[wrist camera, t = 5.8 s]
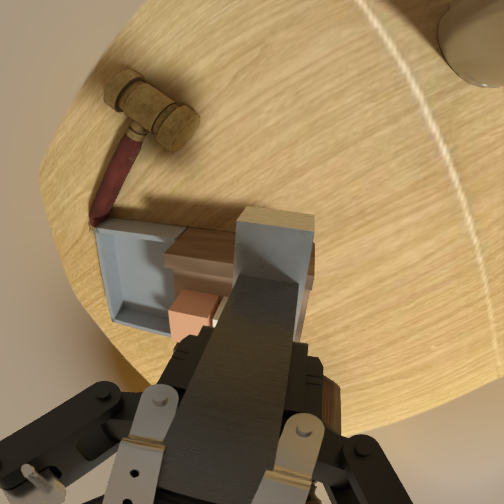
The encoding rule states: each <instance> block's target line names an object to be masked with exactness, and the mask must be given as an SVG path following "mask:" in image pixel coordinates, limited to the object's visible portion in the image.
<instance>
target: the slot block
mask: <svg viewBox="0 0 504 504" xmlns="http://www.w3.org/2000/svg"><path fill="white" fill-rule="evenodd" d="M234 250H235V233H232V232H224V231H216V230H209V229H201V228H193V227H189V228H188V229H187V230H186V231H185V232H184V233H183V234H182V235H181V236H180V237H179V238H178V239H177V240H176V241H175V242H174V243H173V244H172V245H171V246H170V247H169V248H168V249H167V250H166V251H165V252H164V253H163V254H164V267H166V268H171V269H173V273H174V287H175V300H176V298H177V297H178V295H179V294H180V293H181V291H182V290H183V289H186V290H192V291H197V292H203V293H208V294H214V295H219V305H220V303H221V301H222V299H223V297H224V296H226V297H229V295H230V293H231V291H232V285H233V267H234ZM314 265H315V244H312V250H311V255H310V261H309V267H308V272H307V278H306V283H305V289H304V294H303V299H302V304H301V309H300V314H299V319H298V324H297V329H296V334H295V338H294V342H300V337H301V333H302V328H303V323H304V318H305V313H306V308H307V303H308V298H309V293H310V290H312V285H313V280H314ZM178 345H179V342H177V344H176V346H175V347H174V349H173V353H174V352H175V351H176V348H177V346H178Z"/></svg>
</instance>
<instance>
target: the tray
mask: <svg viewBox="0 0 504 504" xmlns="http://www.w3.org/2000/svg"><path fill="white" fill-rule="evenodd" d="M186 230H187V227H185V226H177V225H168V224H160V223H152V222H144V221H135V220H127V219H118V218H109V219H107V220H106V221H104V222H103V223H101V224H99V225H98V226H96V227H95V235H96V242H97V249H98V255H99V261H100V267H101V272H102V278H103V283H104V288H105V293H106V298H107V302H108V307H109V311H110V316H111V320H112V322H115V323H118V324H122V325H125V326H129V327H133V328H136V329H140V330H144V331H148V332H152V333H156V334H159V335H164V336H168V337H171V331H170V322H169V313H168V310H169V308H170V307H171V305H172V304H173V303H174V301H175V287H174V273H173V269H171V268H166V267H164V254H163V253H164V252H165V251H166V250H167V249H168V248H169V247H170V246H171V245H172V244H173V243H174V242H175V241H176V240H177V239H178V238H179V237H180V236H181V235H182V234H183V233H184V232H185V231H186Z"/></svg>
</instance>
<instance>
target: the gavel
mask: <svg viewBox="0 0 504 504" xmlns="http://www.w3.org/2000/svg"><path fill="white" fill-rule="evenodd" d="M104 102H105V103H106V104H107V105H108V106H110V107H111V108H112V109H114V110H115V111H117V112H123V111H124V113H125V114H126V115H127V116H129V117H130V118H131V119H133V120H132V122H131V124H130V125H131V126H130V127H129V128H128V130H127V132H126V134H125V135H124V136H123V138H122V139H121V140H120V142H119V145H118V147H117V149H116V151H115V153H114V155H113V157H112V159H111V162H110V164H109V166H108V168H107V171H106V173H105V175H104V177H103V180H102V182H101V185H100V187H99V189H98V192H97V194H96V197H95V199H94V202H93V204H92V207H91V210H90V212H89V217H90V222H89V225H90V228H89V232H90V233H92V234H93V233H95V227H96V226H98V225H99V224H101V223H103V222H104V221H106V220H107V218H108V216H109V213H110V211H111V209H112V207H113V204H114V202H115V200H116V198H117V196H118V194H119V191H120V189H121V187H122V185H123V183H124V181H125V179H126V177H127V175H128V173H129V171H130V169H131V167H132V165H133V163H134V161H135V159H136V157H137V155H138V153H139V152H140V149H141V146H142V143H143V140H144V138H145V137H146V135H147V133H148V132H150V133H152V134H156V135H157V142H158V143H160V144H161V145H162V146H164V147H165V148H166V149H168V150H169V151H170V152H174V151H177V150H178V149H180V148H181V147H182V146H183V145H184V144H185V143H186V142H187V141H188V140H189V139H190V138H191V136H192V135H193V133H194V132H195V130H196V129H197V127H198V125H199V123H200V115H198V114H197V113H195V112H194V111H193V110H191V109H190V108H188V107H187V106H185V105H183V106H181V107H179V106H177V103H176V102H174V101H173V100H171V99H170V98H168V97H167V96H166V95H164V94H163V93H161V92H160V91H158V90H157V89H155V88H154V87H152V86H151V85H149V84H147V83H145V78H144V77H142V76H141V75H139V74H138V73H136V72H135V71H133V70H131V69H126V70H123V71H121V72H120V73H118V74H117V75H116V76H115V77H114V78H113V79H112V80H111V81H110V82H109V84H108V86H107V88H106V90H105V93H104Z"/></svg>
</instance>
